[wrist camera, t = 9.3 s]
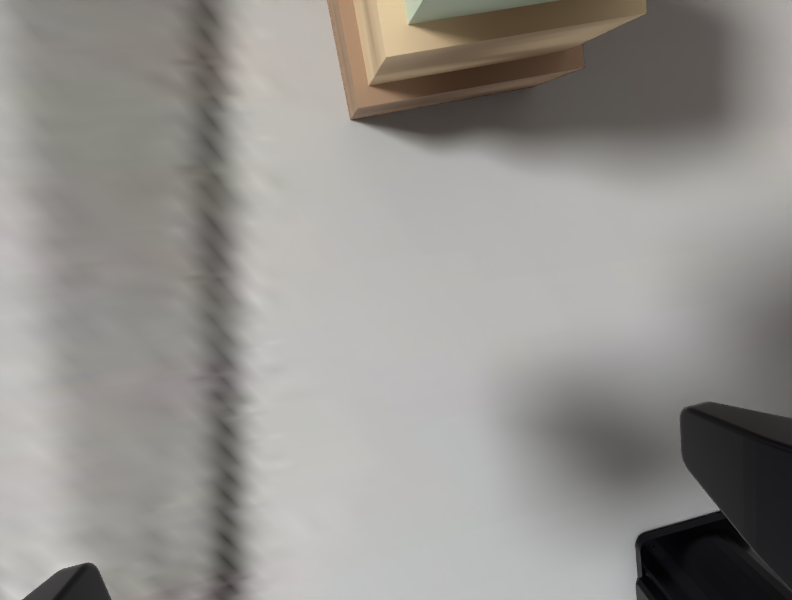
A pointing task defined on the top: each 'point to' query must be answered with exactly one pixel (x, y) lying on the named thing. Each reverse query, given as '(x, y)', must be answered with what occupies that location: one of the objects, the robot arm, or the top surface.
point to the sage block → (458, 8)
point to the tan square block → (435, 86)
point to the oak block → (479, 35)
